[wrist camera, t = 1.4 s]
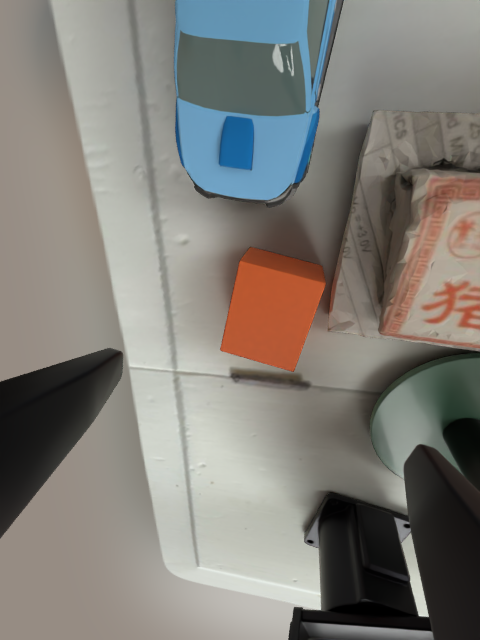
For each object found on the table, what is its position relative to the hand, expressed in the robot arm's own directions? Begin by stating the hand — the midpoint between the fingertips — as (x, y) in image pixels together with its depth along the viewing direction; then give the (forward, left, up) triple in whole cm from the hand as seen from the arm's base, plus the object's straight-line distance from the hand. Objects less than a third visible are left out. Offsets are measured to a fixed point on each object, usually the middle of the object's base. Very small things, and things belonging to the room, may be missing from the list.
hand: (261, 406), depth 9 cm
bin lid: (-5, -12, -9) cm, 16 cm away
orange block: (0, 0, -9) cm, 9 cm away
